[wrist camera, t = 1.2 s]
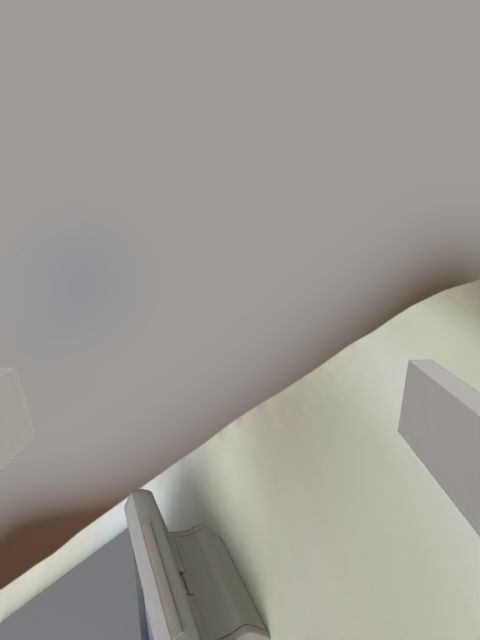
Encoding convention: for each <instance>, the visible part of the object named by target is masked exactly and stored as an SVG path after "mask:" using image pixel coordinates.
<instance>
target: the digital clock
mask: <svg viewBox="0 0 480 640" xmlns="http://www.w3.org/2000/svg"><path fill="white" fill-rule="evenodd" d="M124 509H125V514H126V518H127V523H128V527H129V532H130V536H131V540H132V545H133V549H134V554H135V558H136V562H137V567H138V571H139V575H140V580H141V584H142V589H143V593H144V597H145V602H146V606H147V611H148V615H149V619H150V624H151V628H152V632H153V637H154V640H270V636H269V634H268V632H267V629H266V627H265V625H264V623H263V621H262V619H261V617H260V615H259V613H258V611H257V609H256V607H255V605H254V603H253V601H252V599H251V597H250V595H249V593H248V591H247V589H246V587H245V585H244V583H243V581H242V579H241V577H240V575H239V573H238V571H237V569H236V567H235V565H234V563H233V561H232V559H231V557H230V555H229V553H228V551H227V549H226V546H225V544H224V542H223V540H222V538H221V537H219V536H218V535H216V534H215V533H213V532H212V531H210V530H209V529H207V528H206V527H204V526H201V525H198V526H196V527H194V528H192V529H190V530H187V531H181V532H168V529H167V527H166V525H165V522H164V520H163V518H162V515H161V513H160V511H159V508H158V506H157V504H156V501H155V499H154V496H153V494H152V492H151V491H148V490H144V489H139V490H135V491H133V492H131V494H130V496H129V498H128V500H127V502H126V504H125V506H124Z"/></svg>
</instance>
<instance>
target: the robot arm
mask: <svg viewBox="0 0 480 640" xmlns="http://www.w3.org/2000/svg"><path fill="white" fill-rule="evenodd" d="M398 432H399V433H400V434H401V435H402V437H403V438H404V439H405V441H406V442H407V443H408V444H409V446H410V447H411V448H412V450H413V451H414V452H415V454H416V455H417V456H418V457H419V459H420V460H421V461H422V463H423V464H424V465H425V466H426V468H427V469H428V470H429V472H430V473H431V474H432V475H433V477H434V478H435V479H436V481H437V482H438V483H439V485H440V486H441V487H442V488H443V490H444V491H445V492H446V494H447V495H448V496H449V497H450V499H451V500H452V501H453V503H454V504H455V505H456V507H457V508H458V509H459V510H460V512H461V513H462V514H463V516H464V517H465V518H466V519H467V521H468V522H469V523H470V525H471V526H472V527H473V528H474V530H475V531H476V532H477V534H478V535H479V536H480V392H478V391H477V390H475V389H474V388H472V387H471V386H469V385H468V384H467V383H465V382H464V381H462V380H461V379H459V378H458V377H456V376H455V375H453V374H452V373H451V372H449V371H448V370H446V369H445V368H443V367H442V366H440V365H439V364H437V363H436V362H435V361H433V360H409V362H408V369H407V375H406V382H405V388H404V395H403V401H402V408H401V414H400V421H399V427H398ZM34 437H35V435H34V431H33V428H32V424H31V420H30V416H29V412H28V409H27V405H26V401H25V397H24V393H23V390H22V386H21V382H20V378H19V375H18V371H17V368H0V471H1V470H2V469H3V468H4V467H5V466H6V465H7V464H8V463H9V462H10V461H11V460H12V459H13V458H14V457H15V456H16V455H17V454H18V453H19V452H20V451H21V450H22V449H23V448H24V447H25V446H26V445H27V444H28V443H29V442H30V441H31V440H32V439H33V438H34Z"/></svg>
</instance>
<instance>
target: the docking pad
mask: <svg viewBox="0 0 480 640" xmlns="http://www.w3.org/2000/svg"><path fill="white" fill-rule="evenodd" d="M0 640H148V636H147V626H146V617H145V608H144V598H143V589H142V584H141V580H140V575H139V571H138V567H137V562H136V558H135V554H134V549H133V545H132V540H131V536H130V532H129V528H128V529H126V530H125V531H124V532H122V533H121V534H120V535H118V536H117V537H116V538H114V539H113V540H112V541H110V542H109V543H108V544H106V545H105V546H104V547H102V548H101V549H99V550H98V551H97V552H95V553H94V554H93V555H91V556H90V557H89V558H87V559H86V560H85V561H83V562H82V563H81V564H79V565H78V566H77V567H75V568H74V569H73V570H71V571H70V572H69V573H67V574H66V575H65V576H63V577H62V578H61V579H59V580H58V581H57V582H55V583H54V584H53V585H51V586H50V587H48V588H47V589H46V590H44V591H43V592H42V593H40V594H39V595H38V596H36V597H35V598H34V599H32V600H31V601H30V602H28V603H27V604H26V605H24V606H23V607H22V608H20V609H19V610H18V611H16V612H15V613H14V614H12V615H11V616H10V617H8V618H7V619H6V620H4V621H3V622H2V623H0Z"/></svg>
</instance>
